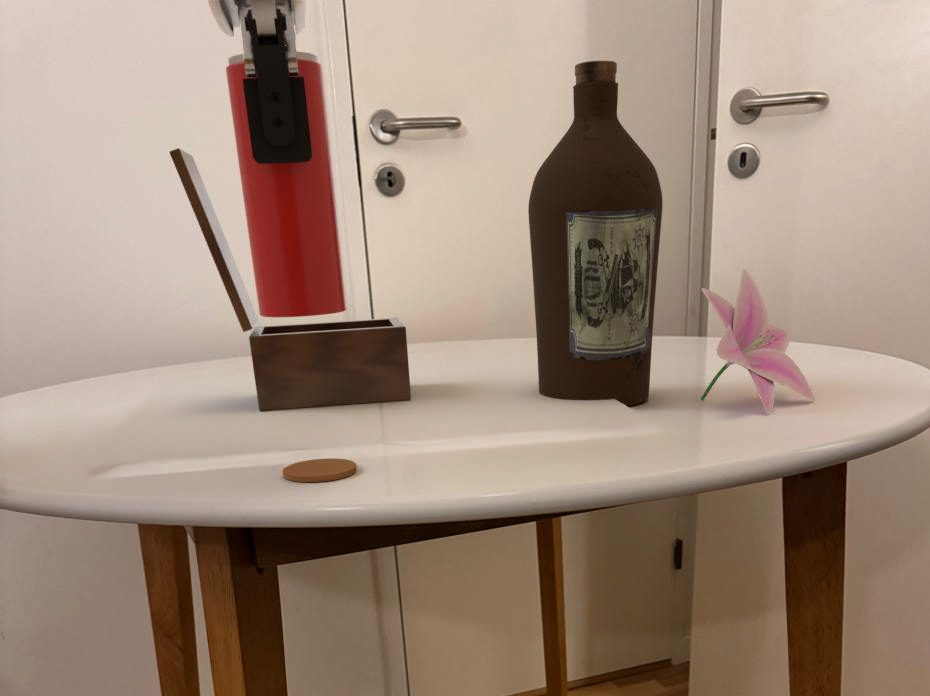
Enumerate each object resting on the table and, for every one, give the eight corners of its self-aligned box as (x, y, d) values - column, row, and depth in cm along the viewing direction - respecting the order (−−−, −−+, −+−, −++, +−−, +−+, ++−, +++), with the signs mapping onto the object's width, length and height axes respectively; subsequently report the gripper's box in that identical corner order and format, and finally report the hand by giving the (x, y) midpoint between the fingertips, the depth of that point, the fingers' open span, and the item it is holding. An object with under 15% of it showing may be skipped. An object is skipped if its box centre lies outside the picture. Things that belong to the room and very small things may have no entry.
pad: (282, 485, 59) (281, 479, 59) (284, 467, 63) (283, 461, 63) (358, 478, 60) (357, 472, 59) (355, 461, 64) (354, 455, 64)
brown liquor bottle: (518, 395, 84) (509, 75, 74) (628, 385, 86) (635, 72, 76) (553, 416, 75) (549, 52, 65) (676, 405, 77) (691, 50, 67)
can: (257, 319, 55) (220, 51, 49) (261, 312, 59) (228, 67, 54) (348, 313, 55) (321, 48, 50) (345, 306, 60) (321, 64, 54)
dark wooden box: (403, 394, 88) (397, 317, 85) (412, 410, 80) (405, 326, 77) (265, 404, 86) (254, 326, 83) (260, 422, 78) (248, 336, 76)
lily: (687, 436, 71) (758, 321, 65) (627, 356, 78) (686, 248, 73) (799, 463, 77) (874, 360, 71) (734, 386, 84) (797, 288, 78)
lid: (192, 155, 77) (183, 158, 77) (178, 147, 70) (168, 151, 70) (258, 319, 83) (249, 322, 83) (252, 329, 75) (243, 332, 75)
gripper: (181, -175, 54) (231, 176, 61) (127, -337, 38) (202, 159, 46) (313, -175, 55) (346, 171, 62) (311, -333, 39) (355, 152, 47)
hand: (284, 162), depth 54 cm, fingers closed on can, 5 cm apart
